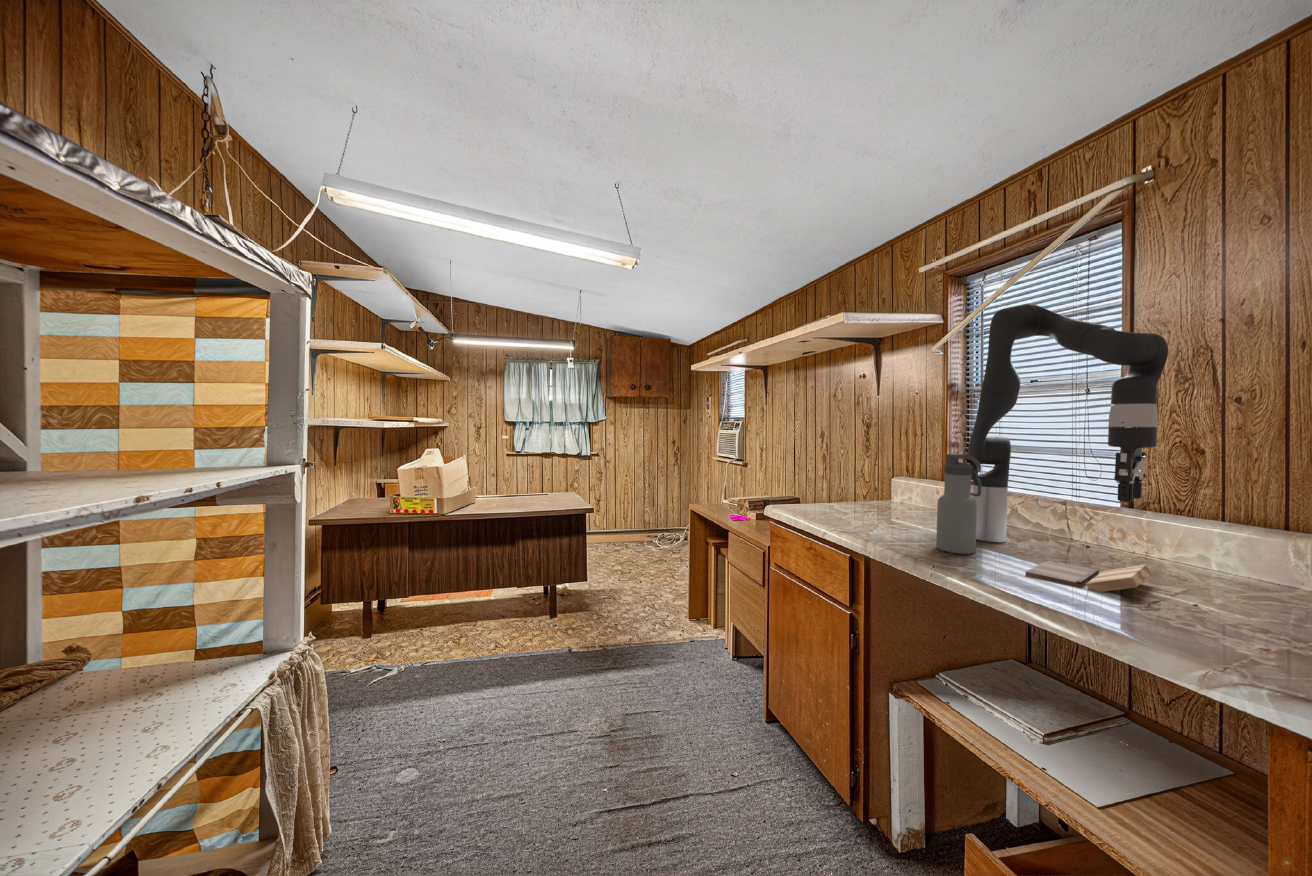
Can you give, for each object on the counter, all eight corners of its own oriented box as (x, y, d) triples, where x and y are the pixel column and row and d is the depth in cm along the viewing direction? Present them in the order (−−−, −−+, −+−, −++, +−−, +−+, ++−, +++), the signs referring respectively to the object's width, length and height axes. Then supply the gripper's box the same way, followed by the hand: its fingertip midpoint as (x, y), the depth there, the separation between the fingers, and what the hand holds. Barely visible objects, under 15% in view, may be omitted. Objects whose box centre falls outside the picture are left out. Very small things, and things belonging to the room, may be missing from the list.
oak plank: (1107, 579, 114) (1103, 571, 114) (1150, 573, 108) (1145, 564, 108) (1090, 593, 104) (1085, 583, 105) (1136, 587, 98) (1131, 577, 99)
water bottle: (965, 546, 144) (968, 453, 143) (984, 555, 134) (988, 456, 133) (930, 545, 145) (932, 453, 144) (946, 554, 135) (949, 455, 134)
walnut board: (1046, 568, 123) (1046, 559, 123) (1098, 578, 115) (1099, 569, 115) (1025, 580, 113) (1025, 570, 113) (1080, 592, 105) (1081, 581, 105)
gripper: (1116, 425, 111) (1114, 495, 112) (1100, 424, 103) (1097, 500, 103) (1163, 426, 105) (1160, 499, 105) (1150, 425, 97) (1147, 505, 97)
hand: (1129, 499), depth 104 cm, fingers open, 8 cm apart
